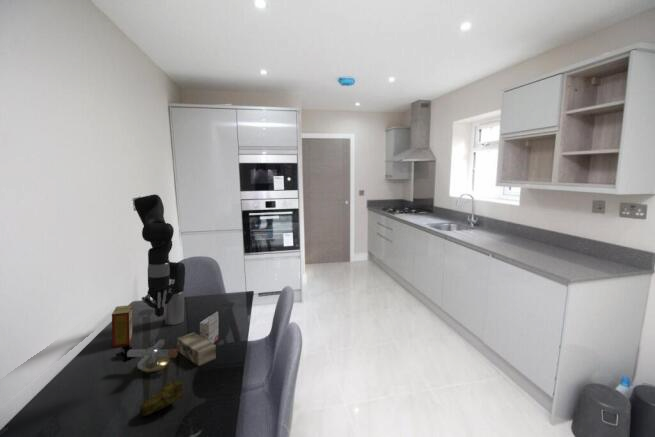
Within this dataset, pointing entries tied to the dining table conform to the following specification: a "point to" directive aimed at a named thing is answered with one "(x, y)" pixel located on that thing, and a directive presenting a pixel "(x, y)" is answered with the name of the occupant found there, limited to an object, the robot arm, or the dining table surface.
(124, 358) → the black angular block
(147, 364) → the capstan
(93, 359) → the dining table surface
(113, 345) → the baking soda box
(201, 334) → the ink cartridge box
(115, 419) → the dining table surface
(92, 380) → the dining table surface
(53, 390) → the dining table surface
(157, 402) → the potato
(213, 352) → the cardboard box
